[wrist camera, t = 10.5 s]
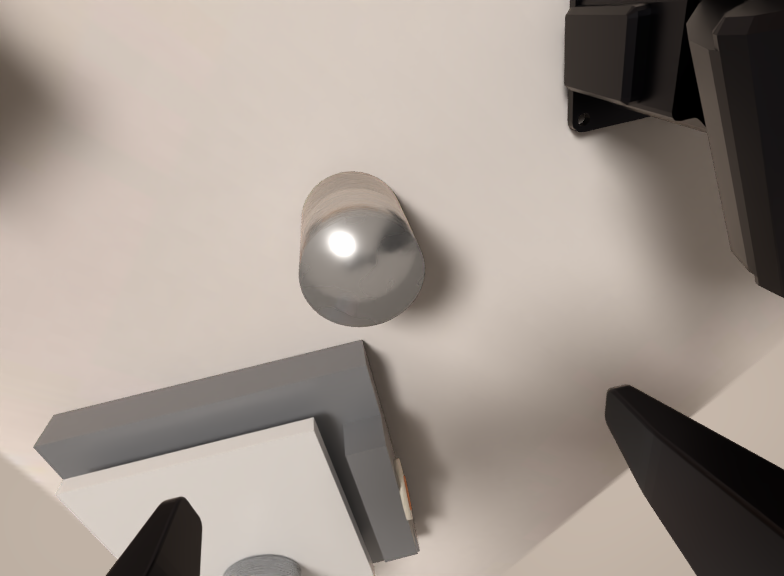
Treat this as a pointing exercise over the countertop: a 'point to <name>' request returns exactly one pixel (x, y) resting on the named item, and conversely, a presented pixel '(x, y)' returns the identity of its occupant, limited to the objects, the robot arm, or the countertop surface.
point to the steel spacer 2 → (358, 251)
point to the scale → (246, 465)
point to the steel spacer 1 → (264, 567)
